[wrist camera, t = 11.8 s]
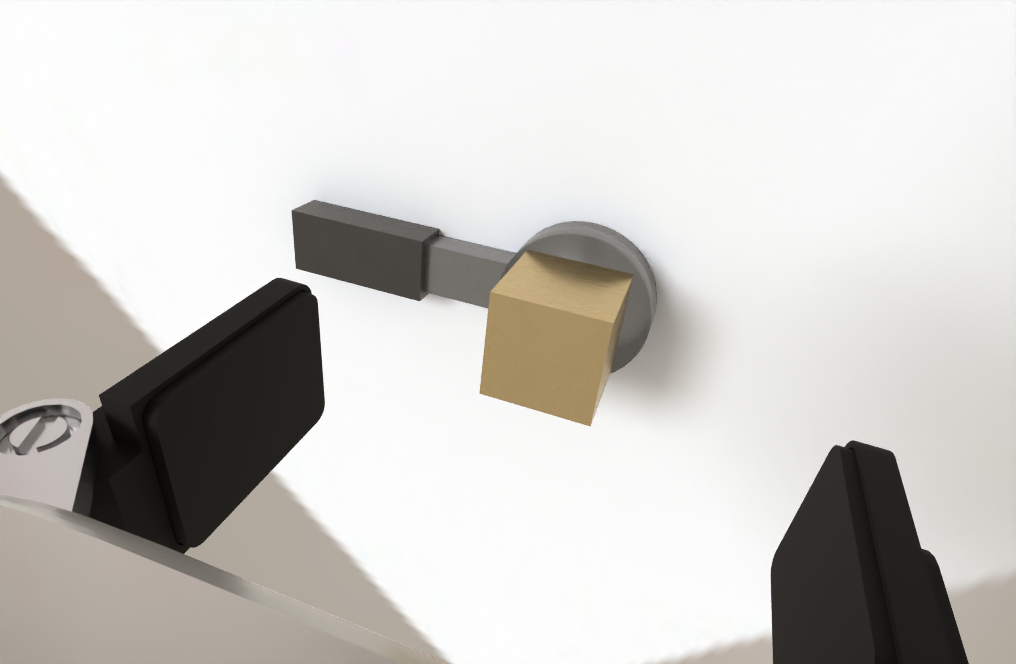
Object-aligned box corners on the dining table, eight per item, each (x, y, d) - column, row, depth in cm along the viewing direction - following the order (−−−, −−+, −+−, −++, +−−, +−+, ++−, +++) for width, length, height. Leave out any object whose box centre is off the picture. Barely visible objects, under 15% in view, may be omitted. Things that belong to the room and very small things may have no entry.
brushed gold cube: (527, 249, 34) (490, 291, 29) (633, 274, 33) (613, 323, 28) (515, 340, 37) (479, 393, 32) (612, 367, 36) (590, 426, 31)
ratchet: (312, 162, 39) (242, 188, 34) (673, 240, 34) (658, 285, 29) (319, 288, 44) (258, 328, 38) (638, 374, 39) (620, 435, 33)
